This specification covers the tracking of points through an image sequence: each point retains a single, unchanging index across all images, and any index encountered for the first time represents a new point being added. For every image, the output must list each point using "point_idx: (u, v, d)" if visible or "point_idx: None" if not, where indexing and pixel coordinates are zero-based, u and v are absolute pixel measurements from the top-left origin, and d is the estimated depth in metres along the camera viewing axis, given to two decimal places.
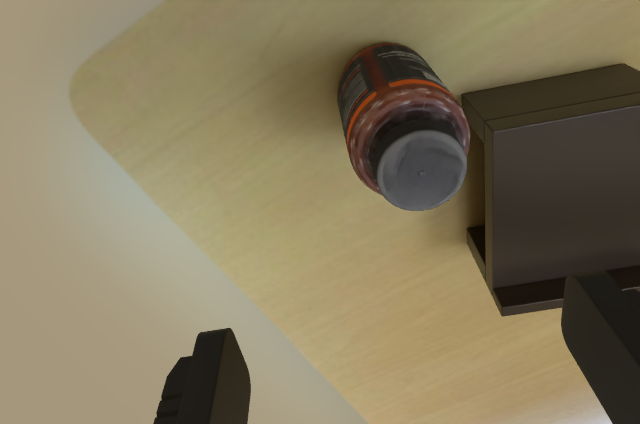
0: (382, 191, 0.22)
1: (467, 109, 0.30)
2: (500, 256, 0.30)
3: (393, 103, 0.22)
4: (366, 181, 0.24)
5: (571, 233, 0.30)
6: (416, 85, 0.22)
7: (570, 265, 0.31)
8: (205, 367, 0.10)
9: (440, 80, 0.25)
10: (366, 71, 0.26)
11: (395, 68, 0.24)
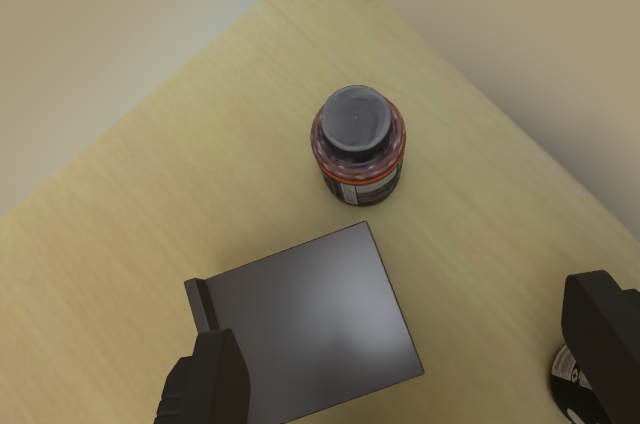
0: (335, 92, 0.28)
1: None
2: (244, 272, 0.32)
3: (392, 107, 0.30)
4: None
5: (277, 331, 0.31)
6: None
7: (240, 347, 0.31)
8: (205, 367, 0.10)
9: (396, 173, 0.33)
10: None
11: None
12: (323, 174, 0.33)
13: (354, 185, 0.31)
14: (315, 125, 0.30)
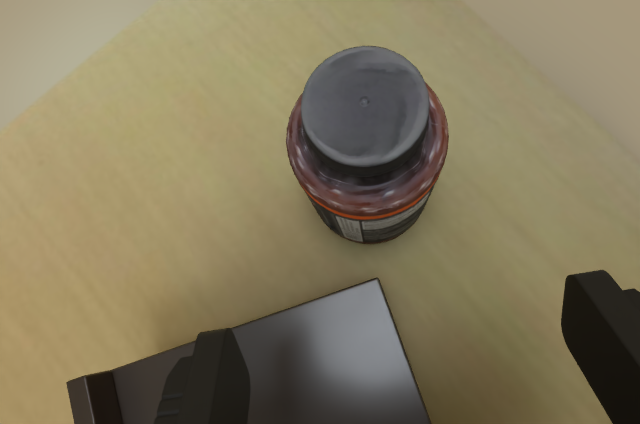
0: (328, 59, 0.15)
1: None
2: (175, 360, 0.19)
3: None
4: None
5: None
6: (447, 124, 0.18)
7: None
8: (205, 367, 0.10)
9: (426, 199, 0.20)
10: None
11: None
12: None
13: (359, 221, 0.18)
14: (294, 119, 0.18)
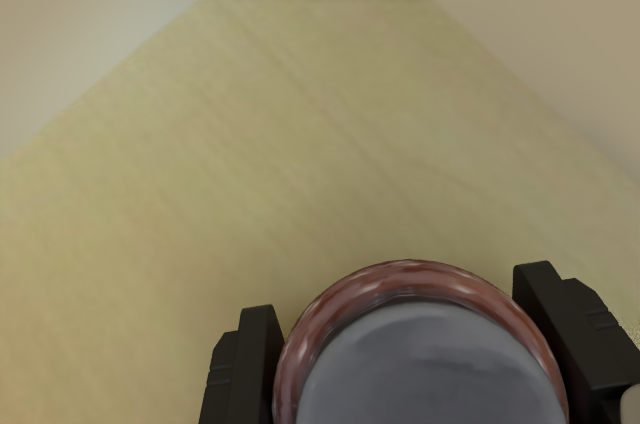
0: (351, 331, 0.07)
1: None
2: None
3: (528, 334, 0.09)
4: (317, 312, 0.10)
5: None
6: None
7: None
8: (252, 339, 0.11)
9: None
10: None
11: None
12: None
13: None
14: (286, 380, 0.10)
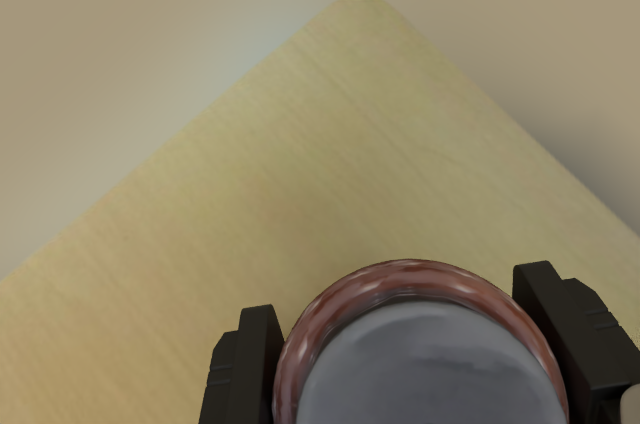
0: (351, 330, 0.07)
1: None
2: None
3: (528, 334, 0.09)
4: (317, 311, 0.10)
5: None
6: None
7: None
8: (252, 339, 0.11)
9: None
10: None
11: None
12: None
13: None
14: (286, 379, 0.10)
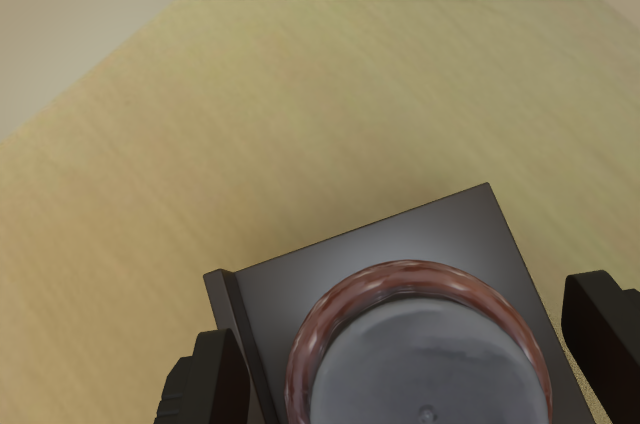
0: (358, 323, 0.09)
1: None
2: (295, 262, 0.20)
3: (517, 327, 0.10)
4: (326, 307, 0.11)
5: None
6: None
7: None
8: (205, 367, 0.10)
9: None
10: None
11: None
12: None
13: None
14: (297, 368, 0.11)
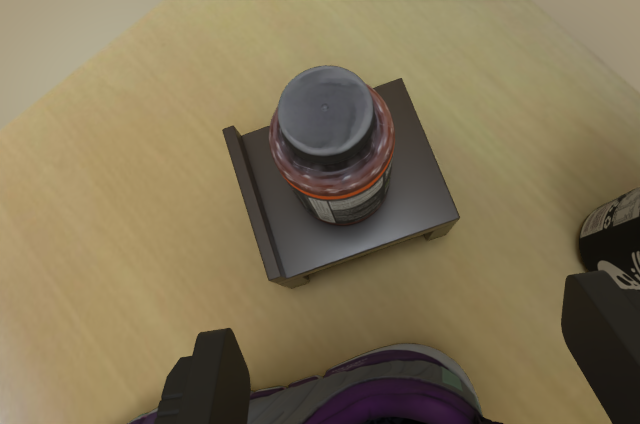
0: (298, 75, 0.20)
1: None
2: None
3: (376, 97, 0.22)
4: None
5: None
6: (393, 124, 0.23)
7: (276, 197, 0.31)
8: (205, 367, 0.10)
9: (382, 185, 0.25)
10: None
11: None
12: None
13: (326, 200, 0.23)
14: (274, 121, 0.23)
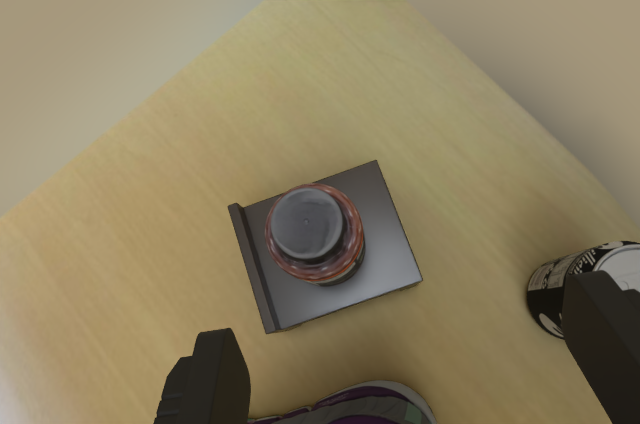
0: (286, 195, 0.27)
1: None
2: (275, 201, 0.39)
3: (347, 204, 0.29)
4: (280, 199, 0.29)
5: None
6: (361, 224, 0.29)
7: (272, 261, 0.38)
8: (205, 367, 0.10)
9: (355, 263, 0.32)
10: None
11: None
12: None
13: None
14: (269, 221, 0.29)
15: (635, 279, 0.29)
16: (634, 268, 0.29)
